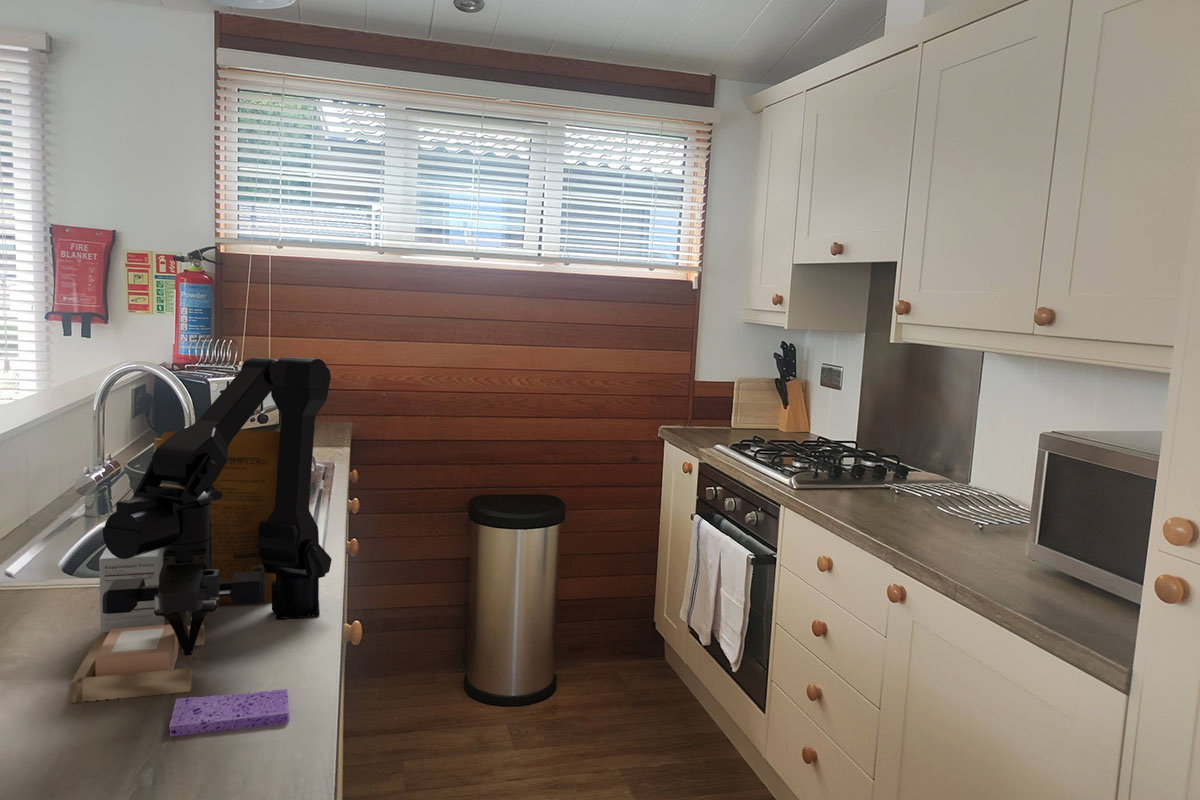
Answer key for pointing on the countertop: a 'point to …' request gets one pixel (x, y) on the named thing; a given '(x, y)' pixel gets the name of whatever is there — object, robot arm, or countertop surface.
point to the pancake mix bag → (242, 505)
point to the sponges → (229, 712)
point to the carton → (137, 650)
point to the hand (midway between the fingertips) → (188, 654)
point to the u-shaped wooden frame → (127, 679)
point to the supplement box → (130, 569)
